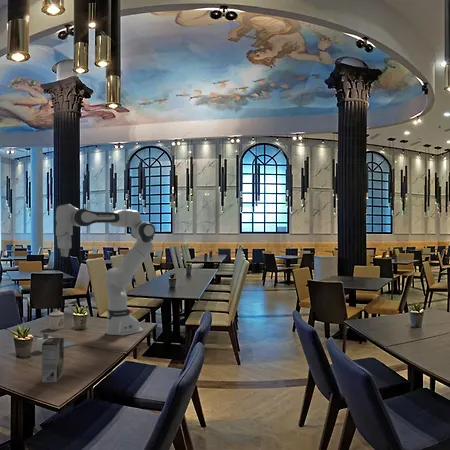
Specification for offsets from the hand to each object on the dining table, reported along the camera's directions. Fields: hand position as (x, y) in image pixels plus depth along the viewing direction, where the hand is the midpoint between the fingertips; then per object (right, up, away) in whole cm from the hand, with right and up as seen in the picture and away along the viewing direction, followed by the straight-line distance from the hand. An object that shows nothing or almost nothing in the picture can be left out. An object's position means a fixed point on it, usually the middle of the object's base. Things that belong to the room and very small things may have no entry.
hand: (64, 256), depth 233 cm
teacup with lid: (-16, -48, +28) cm, 58 cm away
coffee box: (+18, -47, -60) cm, 78 cm away
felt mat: (+4, -47, -10) cm, 48 cm away
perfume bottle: (-2, -47, -19) cm, 51 cm away
